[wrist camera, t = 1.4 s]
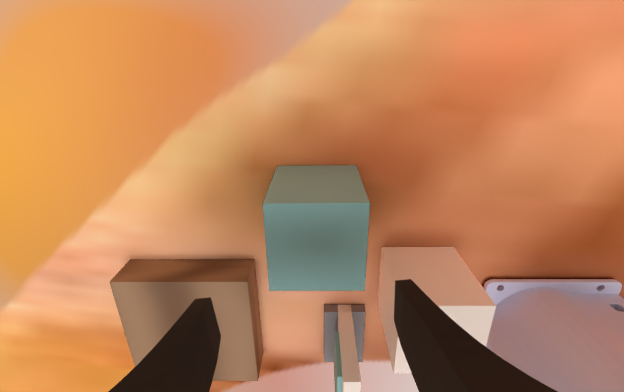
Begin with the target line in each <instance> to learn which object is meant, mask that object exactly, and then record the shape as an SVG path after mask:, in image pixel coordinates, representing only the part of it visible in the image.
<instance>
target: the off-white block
mask: <svg viewBox="0 0 624 392" xmlns="http://www.w3.org/2000/svg"><path fill="white" fill-rule="evenodd" d="M407 279H411V280H412V281H413V282H414V283H415V284H416V285H417V286H418V287H419V288H420V289H421V290H422V291H423V292H424V293H425V294H426V295H427V296H428V297H429V298H430V299H431V300H432V301H433V302H434V303H435V304H436V305H437V306H438V307H439V308H440V309H442V310H443V311H444V312H445V313H446V314H447V315H448V316H449V317H450V318H451V319H452V320H453V321H455V322H456V323H457V324H458V325H459V326H460V327H462V328H463V329H464V330H465V331H466V332H468V333H469V334H470V335H471V336H472V337H474V338H475V339H476V340H477V341H479V342H480V343H481V344H483V345H484V346H486V344H487V340H488V336H489V332H490V328H491V324H492V320H493V316H494V312H495V308H496V305H495V304H494V302H493V301H492V299H491V298H490V297H489V295H488V294H487V292H486V291H485V290H484V288H483V287H482V286H481V284H480V283H479V281H478V280H477V279H476V277H475V276H474V274H473V273H472V272H471V270H470V269H469V267H468V266H467V265H466V263H465V262H464V260H463V259H462V258H461V256H460V255H459V254H458V252H457V251H456V249H455V248H454V247H382V249H381V262H380V274H379V287H378V300H377V306H378V310H379V314H380V318H381V322H382V326H383V331H384V335H385V339H386V343H387V347H388V351H389V356H390V360H391V364H392V368H393V372H394V373H412V372H411V370H410V368H409V365H408V363H407V360H406V358H405V355H404V352H403V350H402V347H401V345H400V341H399V338H398V334H397V330H396V326H395V323H394V299H395V281H396V280H407Z"/></svg>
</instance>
